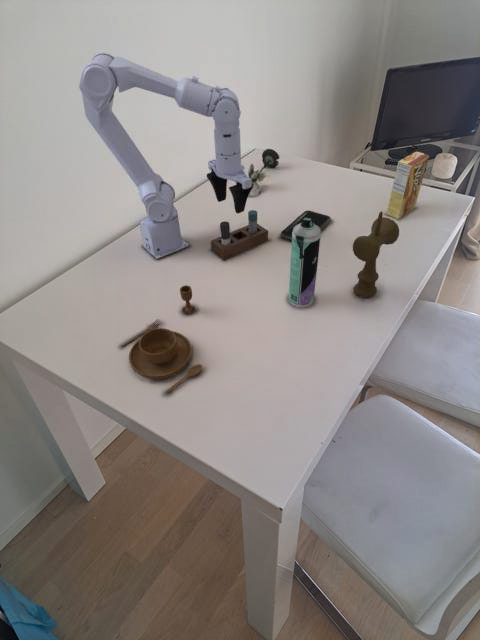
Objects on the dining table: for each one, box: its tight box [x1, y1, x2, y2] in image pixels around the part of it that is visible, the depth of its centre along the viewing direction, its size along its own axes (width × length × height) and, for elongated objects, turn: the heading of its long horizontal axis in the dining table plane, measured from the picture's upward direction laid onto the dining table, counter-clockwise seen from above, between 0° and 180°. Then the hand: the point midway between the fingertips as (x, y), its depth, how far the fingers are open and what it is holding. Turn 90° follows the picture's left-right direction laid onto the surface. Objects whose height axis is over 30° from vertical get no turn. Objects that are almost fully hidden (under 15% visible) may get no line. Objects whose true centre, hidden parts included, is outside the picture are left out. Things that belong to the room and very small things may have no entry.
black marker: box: [219, 220, 231, 246], centre depth 107 cm, size 2×2×8 cm
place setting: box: [120, 285, 203, 395], centre depth 83 cm, size 18×20×6 cm
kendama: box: [352, 211, 400, 299], centre depth 89 cm, size 6×10×20 cm, turn 140°
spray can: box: [288, 217, 322, 309], centre depth 88 cm, size 6×6×20 cm
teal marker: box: [247, 209, 258, 234], centre depth 111 cm, size 2×2×8 cm
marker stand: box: [210, 223, 269, 261], centre depth 110 cm, size 14×6×3 cm, turn 126°
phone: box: [280, 210, 331, 242], centre depth 116 cm, size 8×1×15 cm
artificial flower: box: [247, 148, 281, 197], centre depth 136 cm, size 9×22×10 cm, turn 150°
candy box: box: [386, 151, 430, 220], centre depth 116 cm, size 9×4×15 cm, turn 134°
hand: (230, 206), depth 106 cm, fingers open, 7 cm apart
